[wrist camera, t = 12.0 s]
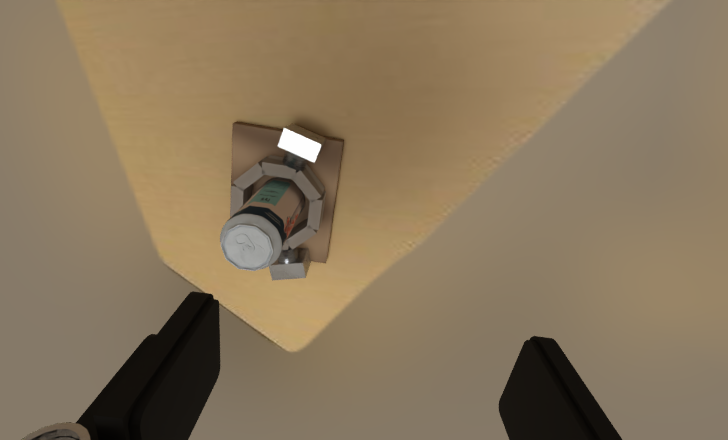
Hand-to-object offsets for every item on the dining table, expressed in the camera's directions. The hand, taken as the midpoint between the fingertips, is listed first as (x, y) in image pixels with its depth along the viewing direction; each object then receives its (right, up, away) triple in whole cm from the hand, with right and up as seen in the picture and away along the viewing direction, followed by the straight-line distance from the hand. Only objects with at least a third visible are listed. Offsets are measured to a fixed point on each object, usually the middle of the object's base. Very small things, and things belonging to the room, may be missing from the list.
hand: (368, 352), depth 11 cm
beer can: (-9, +7, +27) cm, 29 cm away
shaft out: (-8, +1, +29) cm, 30 cm away
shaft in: (-6, +12, +25) cm, 28 cm away
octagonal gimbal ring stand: (-9, +7, +28) cm, 30 cm away
